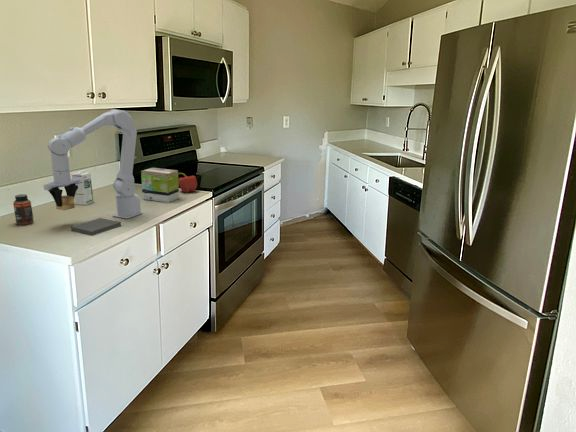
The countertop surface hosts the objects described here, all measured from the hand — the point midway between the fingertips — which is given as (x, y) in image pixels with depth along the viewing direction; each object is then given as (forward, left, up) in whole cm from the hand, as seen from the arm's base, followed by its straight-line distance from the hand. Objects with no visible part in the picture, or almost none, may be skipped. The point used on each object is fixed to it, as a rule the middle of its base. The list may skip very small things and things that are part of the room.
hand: (65, 204), depth 165 cm
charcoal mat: (-2, +13, -8) cm, 16 cm away
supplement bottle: (+7, -15, -8) cm, 18 cm away
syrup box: (-26, -21, -8) cm, 34 cm away
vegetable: (-71, +4, -8) cm, 72 cm away
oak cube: (0, 0, -1) cm, 1 cm away
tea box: (-51, +3, -8) cm, 52 cm away
